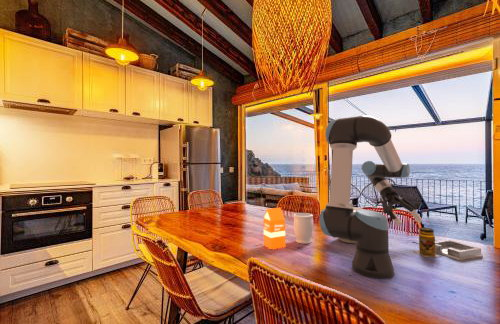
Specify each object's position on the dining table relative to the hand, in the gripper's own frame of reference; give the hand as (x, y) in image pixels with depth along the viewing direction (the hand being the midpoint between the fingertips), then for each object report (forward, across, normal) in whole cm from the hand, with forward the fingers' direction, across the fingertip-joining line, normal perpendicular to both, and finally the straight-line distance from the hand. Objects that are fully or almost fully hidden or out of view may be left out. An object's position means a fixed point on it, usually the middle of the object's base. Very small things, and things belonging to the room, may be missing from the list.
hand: (410, 223), depth 124 cm
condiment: (+15, +1, -3) cm, 15 cm away
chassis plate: (+17, -12, 0) cm, 21 cm away
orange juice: (-9, +64, -27) cm, 69 cm away
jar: (-10, +46, -28) cm, 54 cm away
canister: (-5, +21, -23) cm, 31 cm away
